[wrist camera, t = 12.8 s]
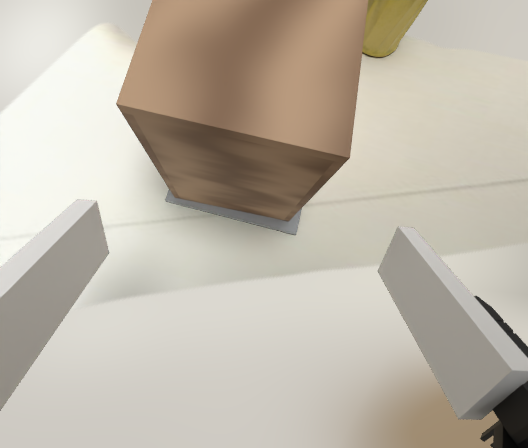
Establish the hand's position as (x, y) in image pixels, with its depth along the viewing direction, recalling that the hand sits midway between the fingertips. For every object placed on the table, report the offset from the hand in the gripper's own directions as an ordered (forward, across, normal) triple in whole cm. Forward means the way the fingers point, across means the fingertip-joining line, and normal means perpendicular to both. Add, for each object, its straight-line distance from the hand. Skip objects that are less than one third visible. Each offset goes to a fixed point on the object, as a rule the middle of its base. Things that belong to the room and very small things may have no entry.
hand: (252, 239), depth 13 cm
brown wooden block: (+15, -1, -2) cm, 15 cm away
